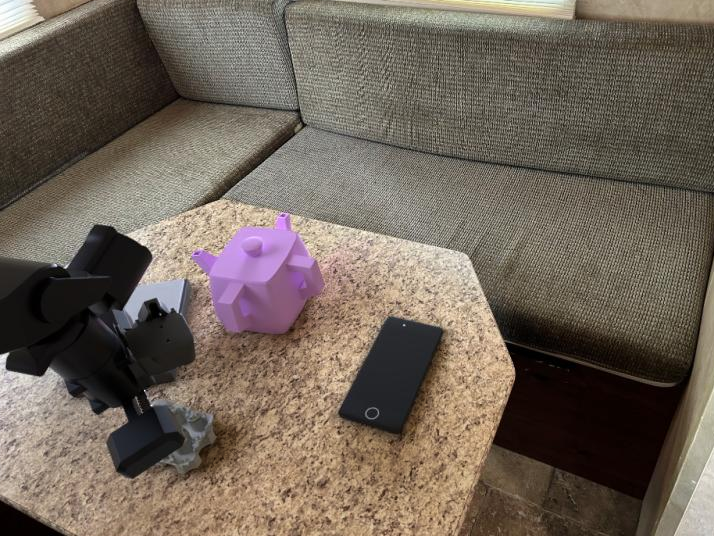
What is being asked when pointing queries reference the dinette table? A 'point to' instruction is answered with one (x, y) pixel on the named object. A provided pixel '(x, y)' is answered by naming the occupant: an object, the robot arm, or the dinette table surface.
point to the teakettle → (261, 278)
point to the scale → (171, 296)
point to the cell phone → (391, 375)
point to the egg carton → (188, 436)
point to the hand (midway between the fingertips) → (159, 417)
